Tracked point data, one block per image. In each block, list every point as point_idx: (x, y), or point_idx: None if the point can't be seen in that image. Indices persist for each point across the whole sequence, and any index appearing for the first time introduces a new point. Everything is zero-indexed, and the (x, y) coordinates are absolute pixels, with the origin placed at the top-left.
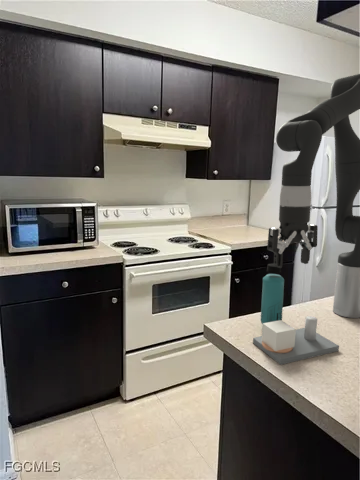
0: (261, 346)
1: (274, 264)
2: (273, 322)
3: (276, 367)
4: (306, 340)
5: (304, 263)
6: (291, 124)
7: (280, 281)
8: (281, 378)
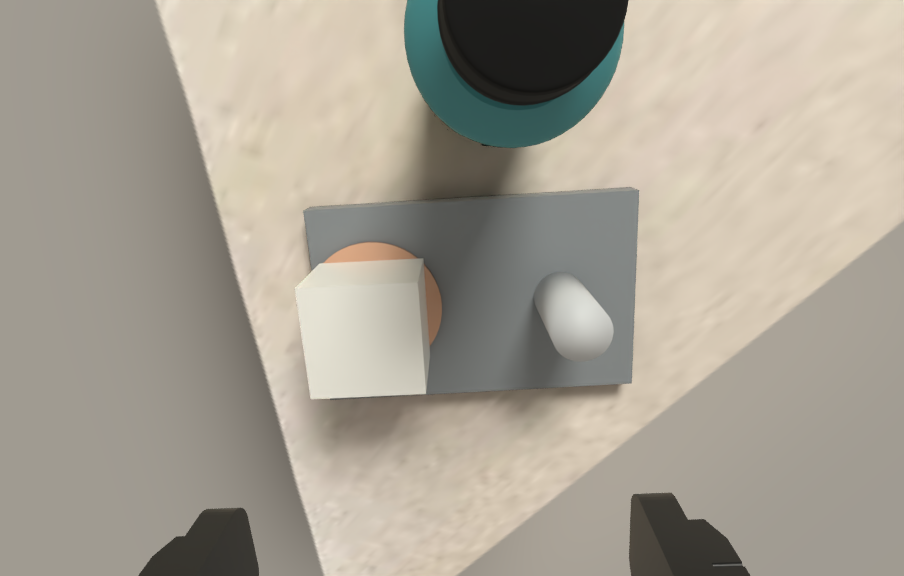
0: None
1: (175, 545)
2: (358, 297)
3: None
4: (532, 306)
5: (630, 548)
6: None
7: (524, 142)
8: (293, 453)
